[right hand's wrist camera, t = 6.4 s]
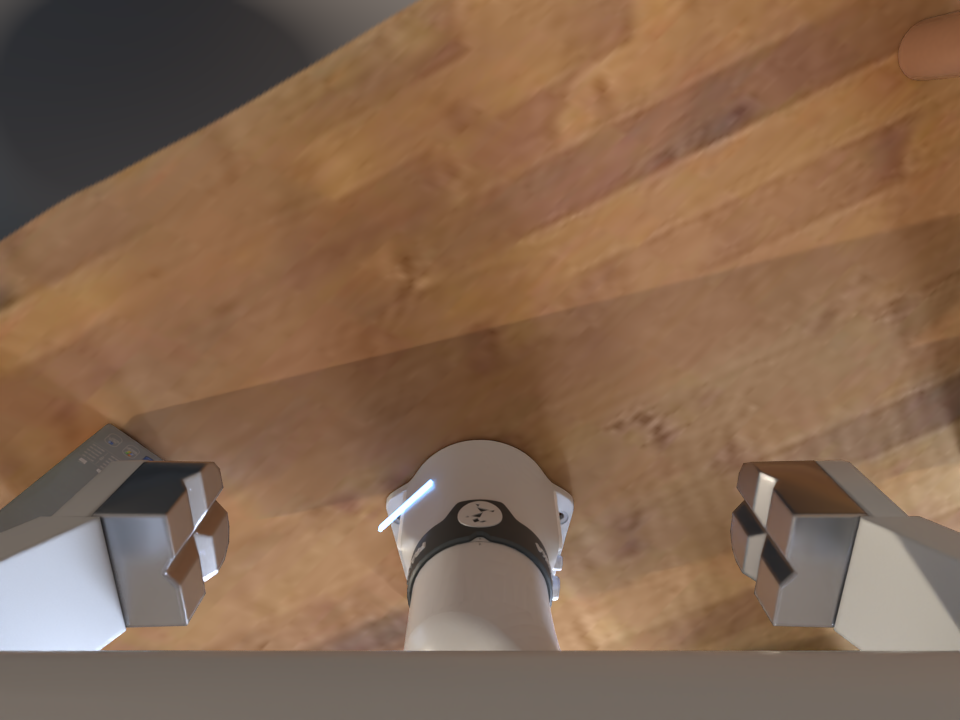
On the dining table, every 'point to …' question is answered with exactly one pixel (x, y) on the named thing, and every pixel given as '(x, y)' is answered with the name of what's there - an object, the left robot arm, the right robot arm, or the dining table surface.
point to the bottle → (932, 48)
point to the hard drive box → (72, 476)
